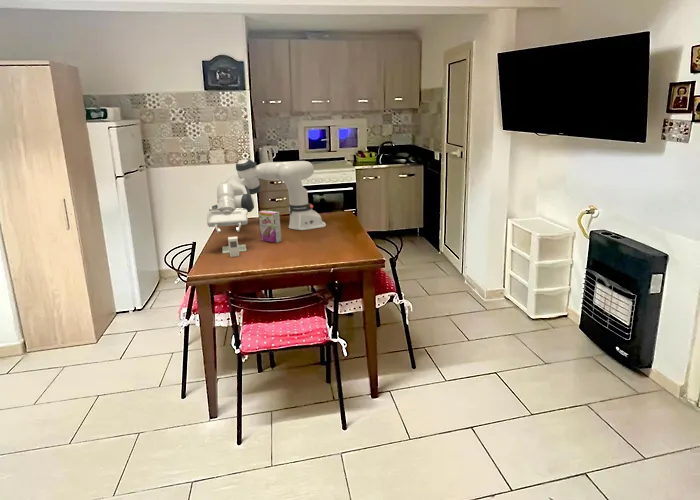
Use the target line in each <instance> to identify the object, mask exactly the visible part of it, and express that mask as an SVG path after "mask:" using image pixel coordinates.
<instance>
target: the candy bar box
mask: <svg viewBox="0 0 700 500" xmlns="http://www.w3.org/2000/svg"><path fill="white" fill-rule="evenodd" d="M257 213H258V221H259V222H258V223H259V233H260V241H261V242H267V243H275V244H277V243H279V242H282V239H283V238H282V229H281V217H280V216H281V215H280V211H272V210H261V211H258V212H257Z"/></svg>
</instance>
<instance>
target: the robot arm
mask: <svg viewBox="0 0 700 500" xmlns="http://www.w3.org/2000/svg"><path fill="white" fill-rule="evenodd" d="M235 170H236V173H237V175H231V176H230V177H228V178H227V179H226V181H225V182H222V183H221V182H220V184H218V185H217V187H216V188H217V189H216V199H217V204H214V205H211V206H209V207H208V212H207V217H206V221H207V222H206V223H207V227H208V228H213V227H214V229H215V230H216V231H217V232H216V233H217V234H221V229H220V228H219V227H228V226H229V227H230V226H236V227H235V228H236V229H235V230H236V232H237V233H238V232H240V229H241V228H242V226H243V225H244V226H245V225H247V224H248V223H249V219H248V213H251V212H252V211H253V210H254V209H255V201H254V198H253V197H252V195H255V194H258V193H259V192H260V191H261V189H262V188H261V186H262V185H261V183H260V180H259V179H261V180H264V181H265V180H266V181H280V182H281V181H282V182H284V184H285V186H286V188H287V192H288V199H289V204H288V212H289V224H288V228H289V229H291V230H298V231H306V230H307V231H308V230H315V229H320V228H325V227H326V226H327V224H326V222H325V221H324V220H323V219H322V216H321V215H320V213H318V212H317V211H316V210H313V208H314V205H313V204H312V203H309V196H308V189H306V188H305V187H304V186H303V183H302V180H307V179H309V178H310V177H312V176H313V175H314V172H315V171H314V170H315V168H314V166H313V164H312V163H311V162H310V161H306V160H295V161H294V160H293V161H268V162H263V163H260V164H257V162H256V161H252V160H251V159H249V158H243V159H240V160H239V161H237V162H236V164H235ZM237 226H238V227H237Z"/></svg>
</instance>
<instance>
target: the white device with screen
mask: <svg viewBox="0 0 700 500" xmlns="http://www.w3.org/2000/svg"><path fill="white" fill-rule="evenodd" d="M227 241H228V242H227V243H228V246H229V251H230V253H229V258H233V257H235V258H236V257H240V252H239V247H238V245H239V241H238V235H237V236H228V237H227Z"/></svg>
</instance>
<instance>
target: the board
mask: <svg viewBox="0 0 700 500" xmlns="http://www.w3.org/2000/svg"><path fill="white" fill-rule="evenodd" d="M238 247H239V253H241V252H247V245H246V244H238ZM222 254H230V251H229V245H227V246H222Z"/></svg>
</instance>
